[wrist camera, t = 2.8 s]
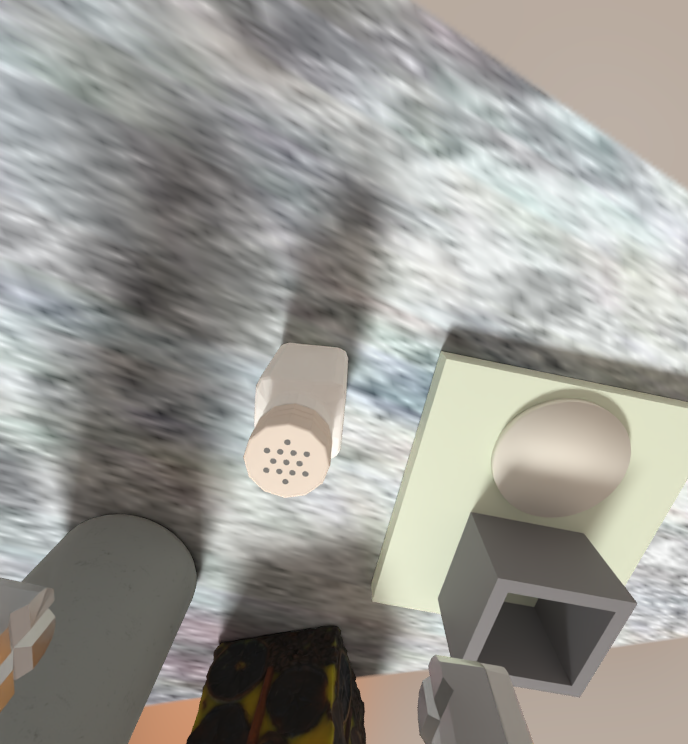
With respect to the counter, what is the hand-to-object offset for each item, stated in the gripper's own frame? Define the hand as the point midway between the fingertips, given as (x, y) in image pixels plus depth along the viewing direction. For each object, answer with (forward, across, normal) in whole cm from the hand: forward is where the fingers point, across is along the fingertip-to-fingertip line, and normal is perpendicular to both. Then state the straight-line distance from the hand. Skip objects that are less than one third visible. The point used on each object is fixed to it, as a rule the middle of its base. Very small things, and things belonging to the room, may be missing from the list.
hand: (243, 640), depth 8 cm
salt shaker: (+16, 0, 0) cm, 16 cm away
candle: (+17, -3, +26) cm, 31 cm away
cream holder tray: (+16, -15, +6) cm, 23 cm away
